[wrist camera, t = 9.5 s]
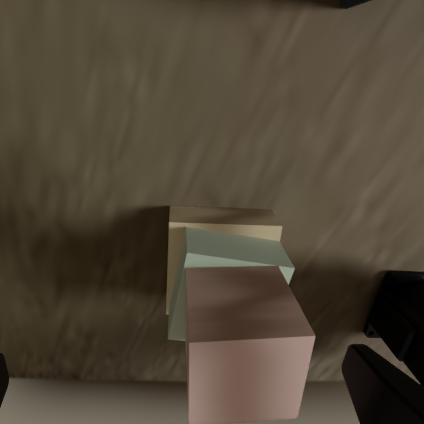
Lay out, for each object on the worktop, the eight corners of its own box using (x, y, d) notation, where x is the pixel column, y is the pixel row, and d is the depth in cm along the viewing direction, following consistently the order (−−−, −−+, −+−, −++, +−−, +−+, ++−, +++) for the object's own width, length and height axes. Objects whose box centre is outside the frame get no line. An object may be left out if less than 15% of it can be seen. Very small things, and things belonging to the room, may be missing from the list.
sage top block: (279, 241, 20) (295, 268, 17) (253, 314, 22) (263, 348, 19) (185, 226, 19) (187, 252, 16) (169, 304, 21) (167, 339, 18)
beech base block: (269, 207, 22) (282, 226, 19) (255, 287, 25) (265, 314, 22) (170, 203, 21) (169, 222, 19) (167, 287, 24) (165, 314, 21)
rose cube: (278, 265, 17) (315, 335, 12) (268, 335, 19) (297, 418, 14) (185, 268, 16) (189, 342, 12) (185, 339, 18) (188, 427, 14)
